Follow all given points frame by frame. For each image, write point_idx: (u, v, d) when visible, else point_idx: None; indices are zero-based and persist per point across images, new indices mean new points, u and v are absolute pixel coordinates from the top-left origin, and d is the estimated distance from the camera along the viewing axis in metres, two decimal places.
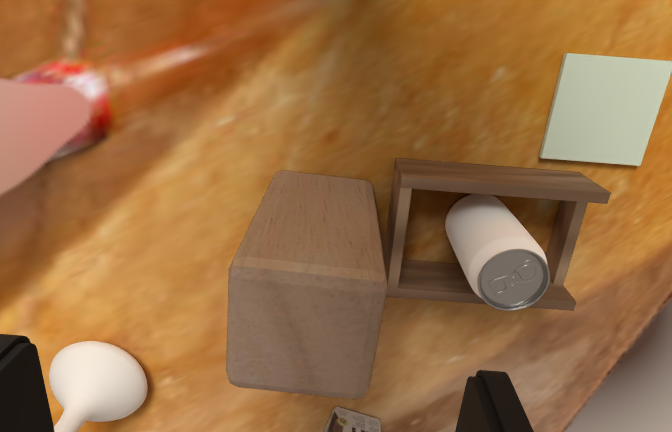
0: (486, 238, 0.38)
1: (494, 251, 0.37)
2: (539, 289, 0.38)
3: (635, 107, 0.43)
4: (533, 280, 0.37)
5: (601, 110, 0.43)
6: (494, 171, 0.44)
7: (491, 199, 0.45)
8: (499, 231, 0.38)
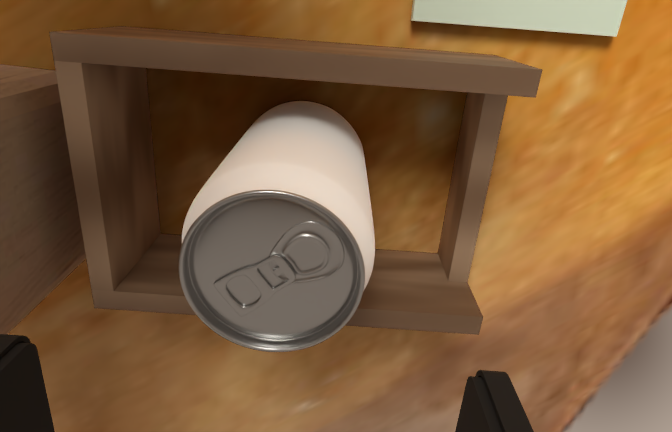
0: (218, 171, 0.15)
1: (216, 199, 0.14)
2: (348, 298, 0.15)
3: None
4: (326, 277, 0.14)
5: None
6: (307, 43, 0.21)
7: (311, 107, 0.22)
8: (253, 153, 0.15)
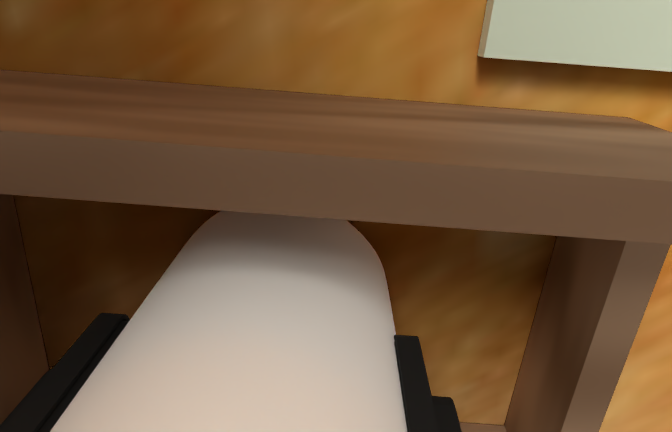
0: None
1: None
2: None
3: None
4: None
5: None
6: (282, 105, 0.10)
7: (292, 221, 0.12)
8: None
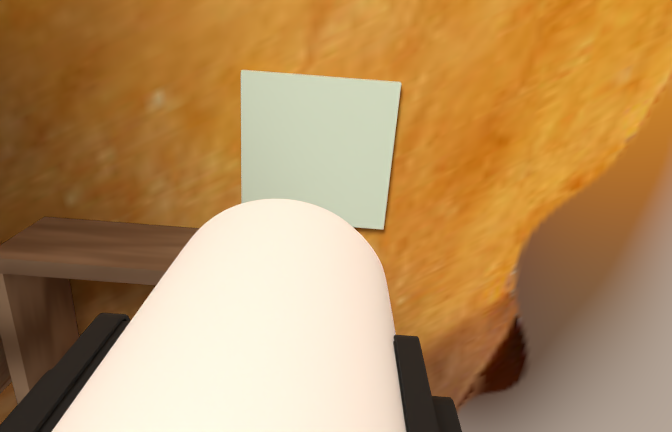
0: None
1: None
2: None
3: (358, 148, 0.29)
4: None
5: (310, 153, 0.29)
6: (165, 239, 0.30)
7: (292, 222, 0.12)
8: None
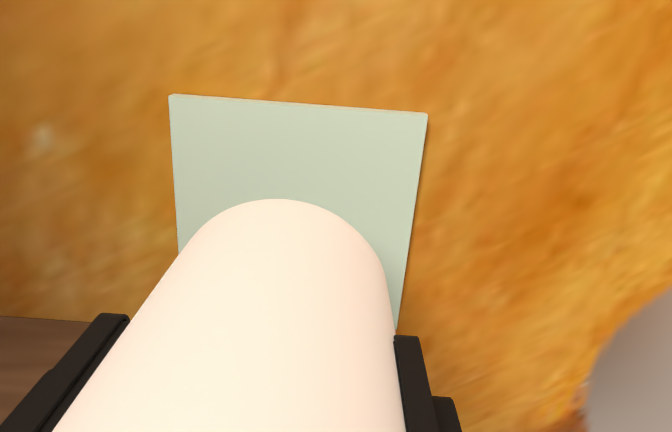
0: None
1: None
2: None
3: (359, 215, 0.19)
4: None
5: None
6: (63, 351, 0.20)
7: (292, 223, 0.12)
8: None
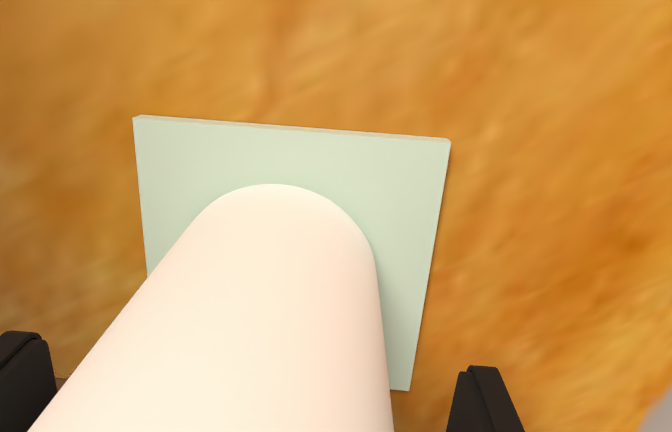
0: None
1: None
2: None
3: None
4: None
5: None
6: None
7: (290, 205, 0.13)
8: (112, 415, 0.06)
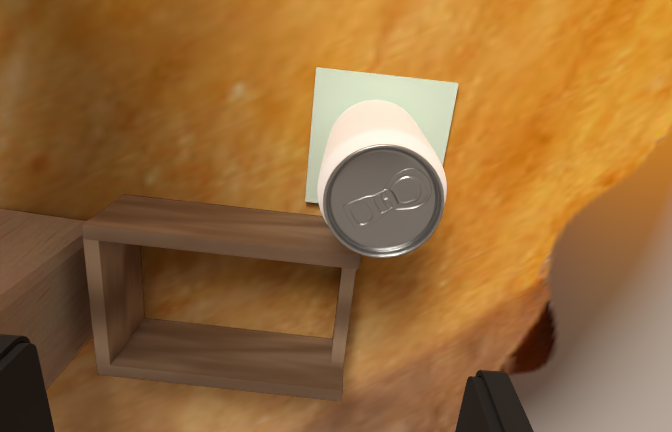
0: (348, 135, 0.23)
1: (353, 150, 0.21)
2: (428, 224, 0.22)
3: None
4: (417, 207, 0.22)
5: None
6: (237, 217, 0.34)
7: (389, 104, 0.30)
8: (371, 125, 0.23)
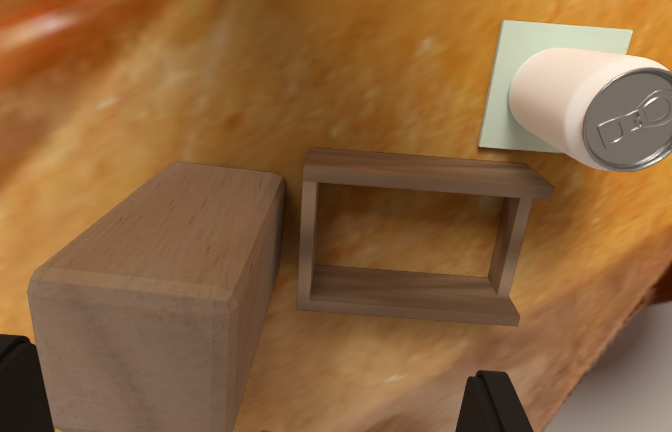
0: (593, 65, 0.26)
1: (612, 75, 0.25)
2: (670, 139, 0.26)
3: None
4: (663, 124, 0.25)
5: None
6: (422, 162, 0.37)
7: None
8: (613, 56, 0.26)
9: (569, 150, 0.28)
